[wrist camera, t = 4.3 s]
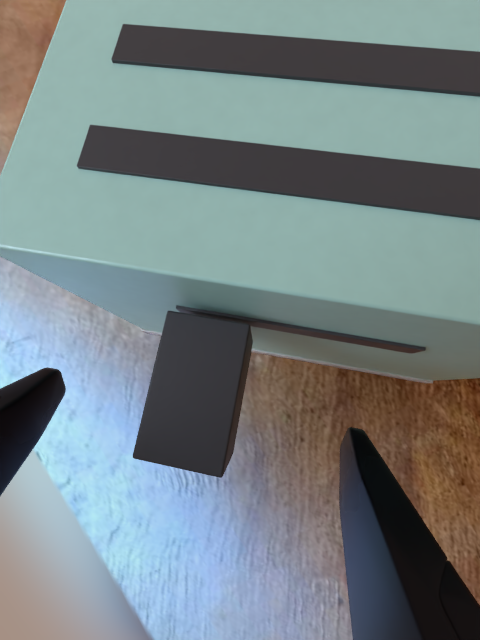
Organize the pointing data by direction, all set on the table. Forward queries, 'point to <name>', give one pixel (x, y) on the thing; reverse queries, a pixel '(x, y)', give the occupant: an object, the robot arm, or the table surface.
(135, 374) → the table surface
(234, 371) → the slider
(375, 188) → the toaster
